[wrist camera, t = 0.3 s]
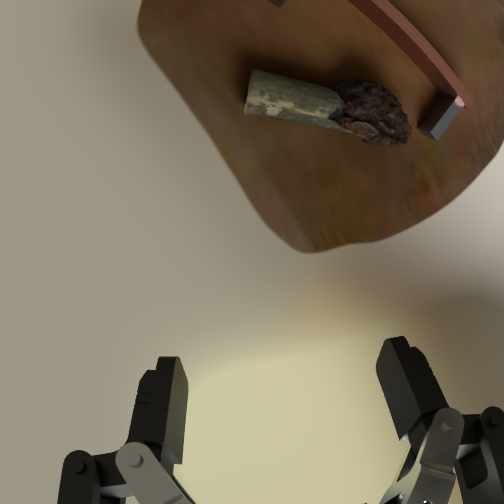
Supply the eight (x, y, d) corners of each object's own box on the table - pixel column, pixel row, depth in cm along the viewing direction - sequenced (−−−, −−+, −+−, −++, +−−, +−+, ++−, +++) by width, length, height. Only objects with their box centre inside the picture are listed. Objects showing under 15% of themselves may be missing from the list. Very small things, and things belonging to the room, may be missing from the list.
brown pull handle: (308, -41, 20) (316, -54, 17) (454, 96, 28) (473, 100, 25) (267, 0, 23) (272, -11, 20) (423, 135, 31) (442, 142, 28)
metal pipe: (242, 112, 30) (243, 116, 25) (254, 53, 27) (257, 46, 22) (389, 148, 32) (412, 161, 28) (403, 97, 29) (429, 102, 24)
